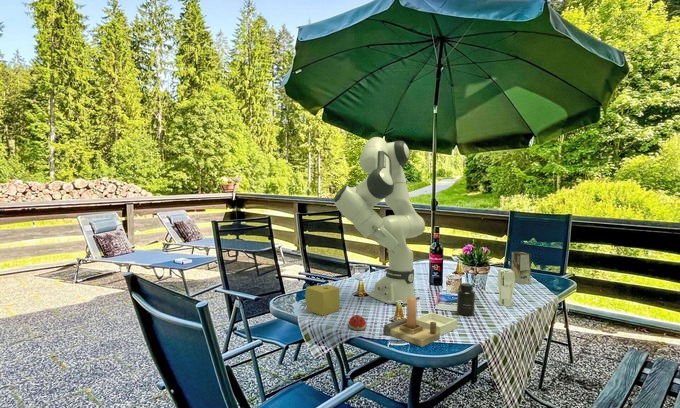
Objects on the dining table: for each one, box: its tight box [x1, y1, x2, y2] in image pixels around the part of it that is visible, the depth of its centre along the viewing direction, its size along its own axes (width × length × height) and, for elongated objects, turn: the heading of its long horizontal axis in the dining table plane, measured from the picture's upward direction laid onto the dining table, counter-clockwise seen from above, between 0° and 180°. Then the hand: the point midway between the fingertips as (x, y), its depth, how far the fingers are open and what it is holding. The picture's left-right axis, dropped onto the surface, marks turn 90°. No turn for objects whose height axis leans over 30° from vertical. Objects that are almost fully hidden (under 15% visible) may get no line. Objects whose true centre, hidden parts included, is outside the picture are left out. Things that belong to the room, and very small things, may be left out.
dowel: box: [406, 297, 418, 329], centre depth 135 cm, size 3×3×11 cm
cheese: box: [304, 284, 340, 317], centre depth 161 cm, size 10×11×10 cm
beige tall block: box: [497, 268, 516, 307], centre depth 172 cm, size 7×7×15 cm
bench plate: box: [382, 317, 440, 348], centre depth 135 cm, size 16×12×6 cm
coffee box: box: [510, 251, 532, 285], centre depth 212 cm, size 9×6×16 cm
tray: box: [416, 311, 458, 337], centre depth 143 cm, size 11×11×3 cm
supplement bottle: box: [456, 282, 476, 317], centre depth 159 cm, size 7×7×12 cm
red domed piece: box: [347, 314, 367, 331], centre depth 144 cm, size 7×10×4 cm
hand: (398, 253), depth 135 cm, fingers open, 8 cm apart
